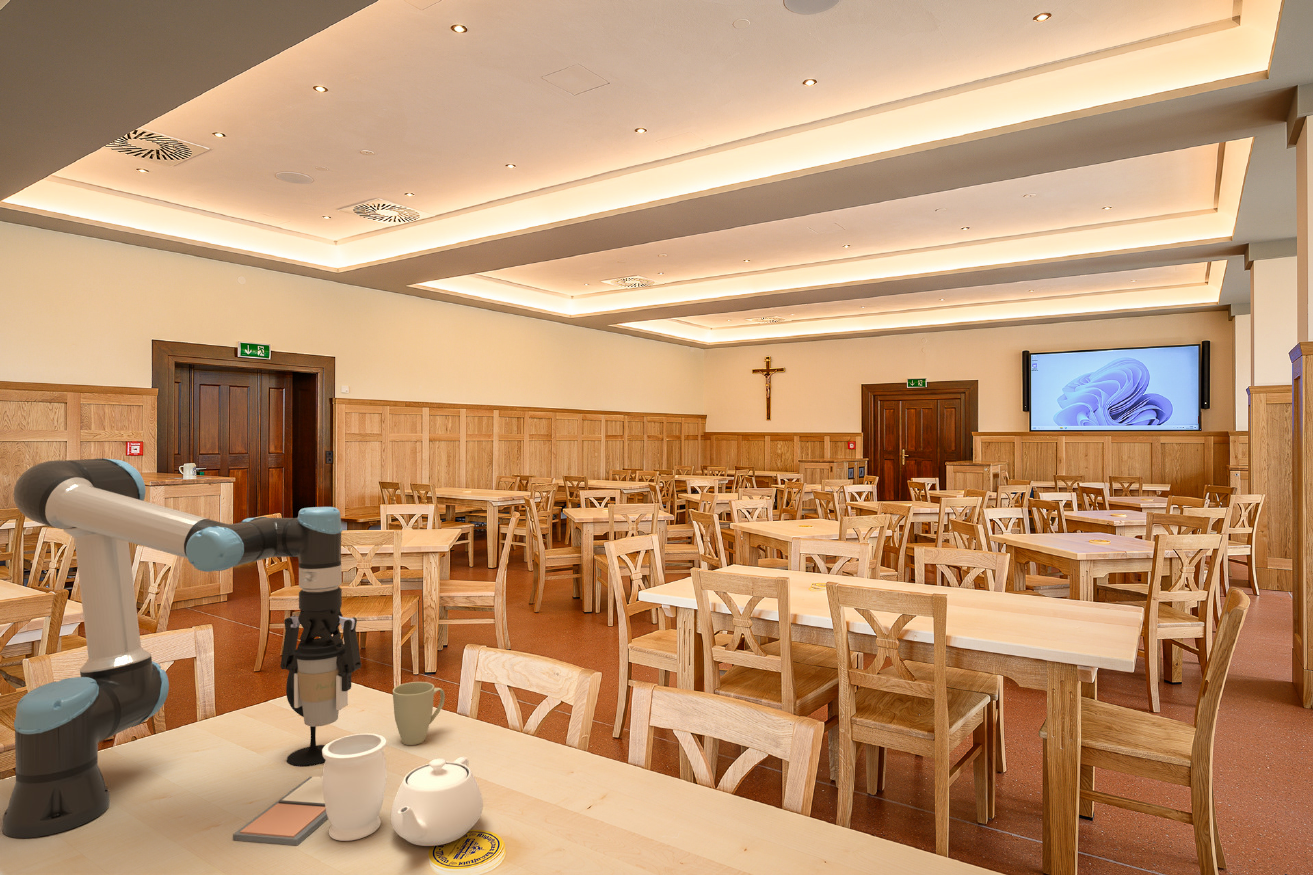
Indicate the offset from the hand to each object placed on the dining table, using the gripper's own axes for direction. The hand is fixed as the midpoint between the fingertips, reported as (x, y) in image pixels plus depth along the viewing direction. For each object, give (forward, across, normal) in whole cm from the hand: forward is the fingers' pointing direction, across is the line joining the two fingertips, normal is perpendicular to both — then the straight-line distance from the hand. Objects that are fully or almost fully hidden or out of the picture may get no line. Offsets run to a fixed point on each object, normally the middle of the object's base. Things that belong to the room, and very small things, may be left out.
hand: (321, 706), depth 144 cm
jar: (+18, +13, -10) cm, 24 cm away
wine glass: (+18, -12, +16) cm, 27 cm away
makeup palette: (+17, 0, -6) cm, 18 cm away
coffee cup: (+3, 0, 0) cm, 3 cm away
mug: (+18, +6, +28) cm, 34 cm away
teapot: (+18, +27, -9) cm, 34 cm away
